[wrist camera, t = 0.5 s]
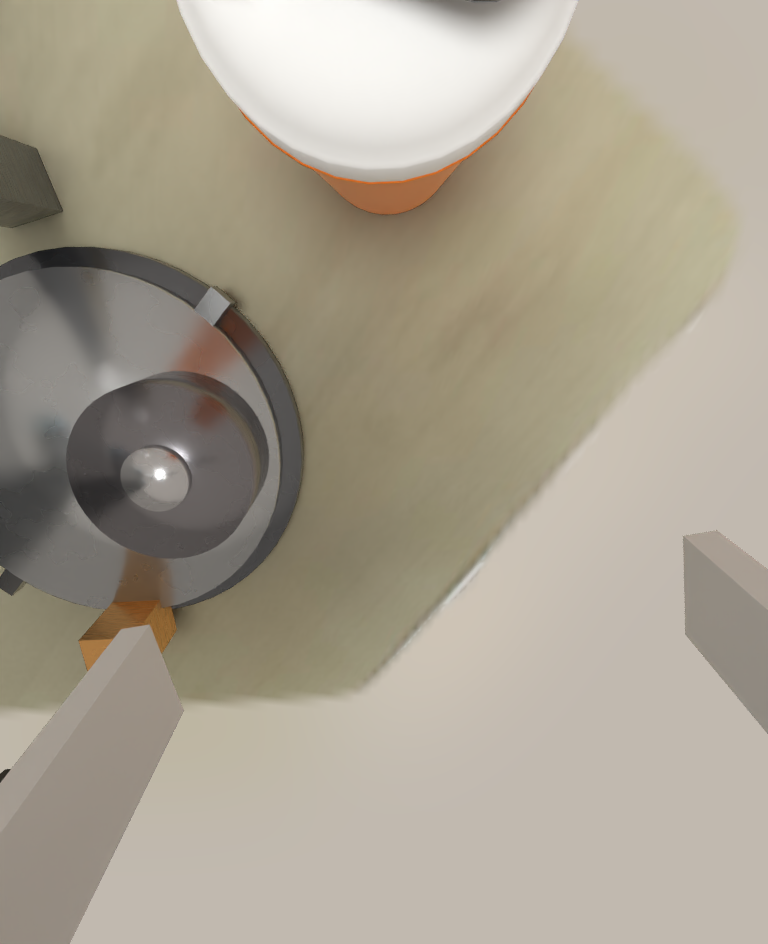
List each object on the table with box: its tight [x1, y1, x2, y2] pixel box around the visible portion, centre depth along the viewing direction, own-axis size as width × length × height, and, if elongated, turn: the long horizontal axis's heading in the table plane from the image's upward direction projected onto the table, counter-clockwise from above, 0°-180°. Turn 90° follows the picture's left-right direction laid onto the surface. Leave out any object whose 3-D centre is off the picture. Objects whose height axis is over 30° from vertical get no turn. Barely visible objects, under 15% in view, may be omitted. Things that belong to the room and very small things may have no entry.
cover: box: [66, 371, 269, 559], centre depth 28 cm, size 9×9×5 cm
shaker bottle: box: [177, 0, 579, 215], centre depth 18 cm, size 9×9×20 cm
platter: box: [0, 267, 283, 671], centre depth 30 cm, size 20×22×5 cm
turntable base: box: [0, 247, 304, 609], centre depth 32 cm, size 22×22×1 cm
